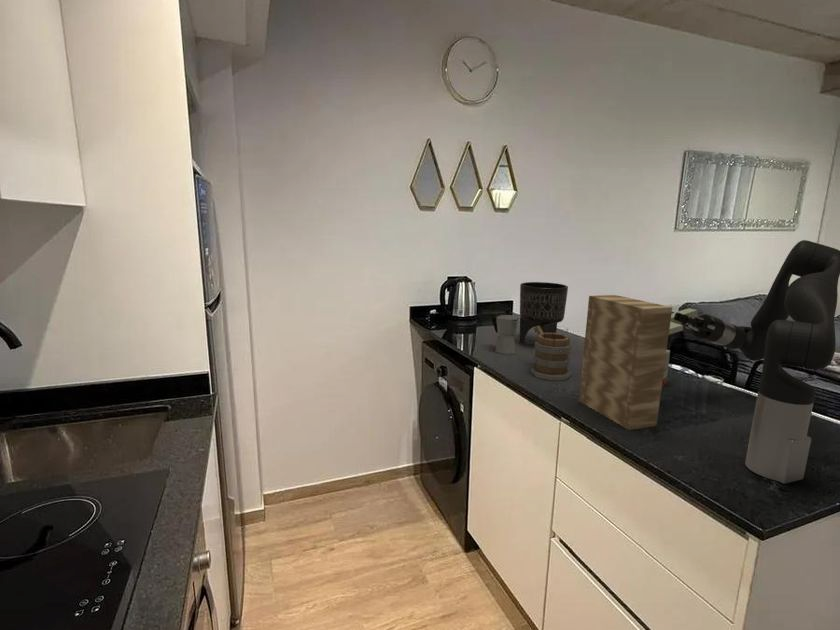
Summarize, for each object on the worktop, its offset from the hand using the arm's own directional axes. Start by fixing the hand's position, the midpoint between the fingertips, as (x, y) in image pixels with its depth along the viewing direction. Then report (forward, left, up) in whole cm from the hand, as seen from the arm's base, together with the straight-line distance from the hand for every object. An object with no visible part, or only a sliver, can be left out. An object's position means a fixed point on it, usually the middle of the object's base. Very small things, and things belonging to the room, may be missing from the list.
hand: (671, 314), depth 130 cm
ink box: (+15, -12, -27) cm, 33 cm away
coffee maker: (+62, +18, -27) cm, 70 cm away
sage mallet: (0, 0, -3) cm, 3 cm away
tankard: (+35, +16, -27) cm, 47 cm away
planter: (+66, -2, -27) cm, 71 cm away
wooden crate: (-2, +18, -27) cm, 33 cm away
